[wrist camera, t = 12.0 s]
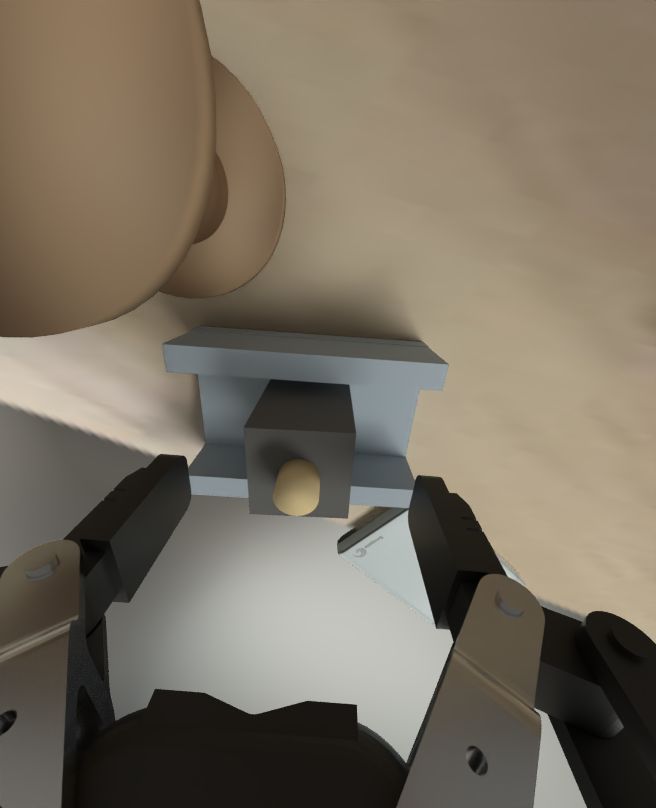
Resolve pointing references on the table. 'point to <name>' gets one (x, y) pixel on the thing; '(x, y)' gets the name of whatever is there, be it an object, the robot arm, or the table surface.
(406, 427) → the blue-gray u-shaped channel
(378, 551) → the hard drive
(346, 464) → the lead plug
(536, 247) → the table surface
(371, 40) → the table surface
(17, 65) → the bobbin
